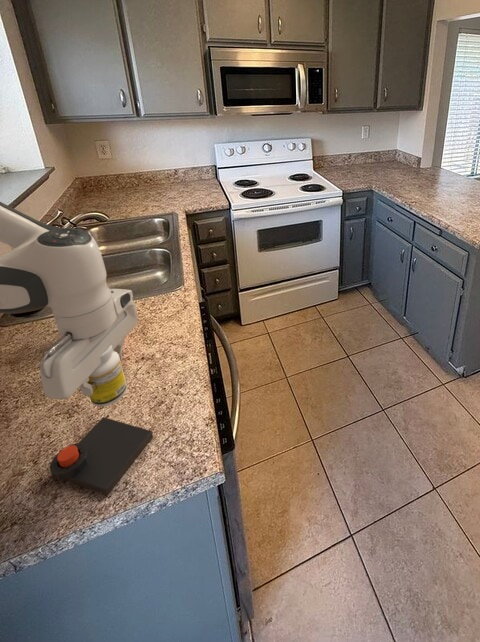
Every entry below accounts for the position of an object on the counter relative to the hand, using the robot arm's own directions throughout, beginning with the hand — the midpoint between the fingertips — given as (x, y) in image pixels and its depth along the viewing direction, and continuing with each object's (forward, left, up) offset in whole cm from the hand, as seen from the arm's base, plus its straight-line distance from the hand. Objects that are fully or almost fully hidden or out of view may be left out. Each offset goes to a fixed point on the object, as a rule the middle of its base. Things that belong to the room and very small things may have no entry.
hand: (104, 376), depth 68 cm
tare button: (-6, -6, -16) cm, 19 cm away
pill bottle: (0, 0, -5) cm, 5 cm away
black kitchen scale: (-2, -2, -20) cm, 20 cm away
